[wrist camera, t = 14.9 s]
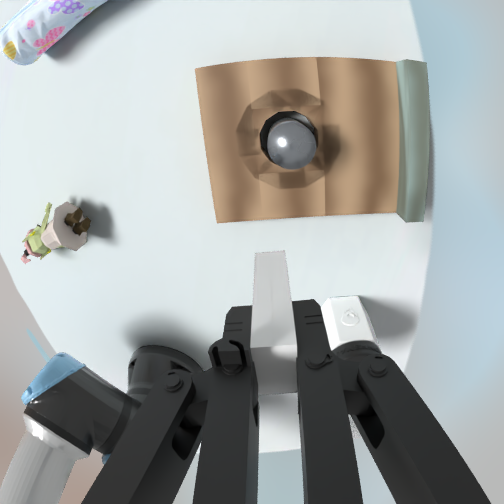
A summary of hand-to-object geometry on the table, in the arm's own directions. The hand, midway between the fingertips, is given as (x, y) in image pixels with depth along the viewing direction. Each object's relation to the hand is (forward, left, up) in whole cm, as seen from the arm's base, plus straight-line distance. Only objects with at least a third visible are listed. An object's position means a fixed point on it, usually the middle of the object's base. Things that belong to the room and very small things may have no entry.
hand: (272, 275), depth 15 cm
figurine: (-33, -3, -22) cm, 39 cm away
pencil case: (-22, +29, -22) cm, 42 cm away
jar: (+9, -23, -22) cm, 33 cm away
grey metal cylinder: (+2, +4, -22) cm, 22 cm away
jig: (+5, +4, -22) cm, 23 cm away
